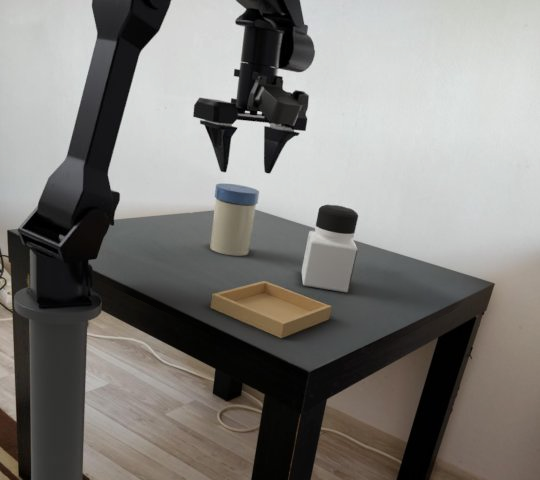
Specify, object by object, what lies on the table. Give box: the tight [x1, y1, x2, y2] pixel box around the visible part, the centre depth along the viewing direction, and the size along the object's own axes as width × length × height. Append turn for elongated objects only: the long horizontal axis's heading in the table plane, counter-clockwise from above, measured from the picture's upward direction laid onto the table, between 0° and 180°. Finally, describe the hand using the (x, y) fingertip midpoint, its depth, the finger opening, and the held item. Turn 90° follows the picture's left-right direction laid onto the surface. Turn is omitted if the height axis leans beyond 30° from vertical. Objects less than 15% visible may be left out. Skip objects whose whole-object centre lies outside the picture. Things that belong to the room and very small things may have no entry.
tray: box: [210, 280, 332, 339], centre depth 75 cm, size 11×11×2 cm
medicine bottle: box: [301, 204, 359, 293], centre depth 90 cm, size 7×7×12 cm
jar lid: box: [214, 183, 260, 205], centre depth 97 cm, size 7×7×2 cm
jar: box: [209, 198, 257, 257], centre depth 99 cm, size 7×7×10 cm
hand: (246, 172), depth 94 cm, fingers open, 9 cm apart
